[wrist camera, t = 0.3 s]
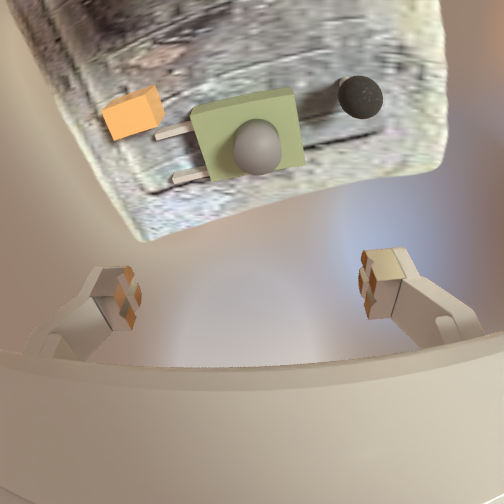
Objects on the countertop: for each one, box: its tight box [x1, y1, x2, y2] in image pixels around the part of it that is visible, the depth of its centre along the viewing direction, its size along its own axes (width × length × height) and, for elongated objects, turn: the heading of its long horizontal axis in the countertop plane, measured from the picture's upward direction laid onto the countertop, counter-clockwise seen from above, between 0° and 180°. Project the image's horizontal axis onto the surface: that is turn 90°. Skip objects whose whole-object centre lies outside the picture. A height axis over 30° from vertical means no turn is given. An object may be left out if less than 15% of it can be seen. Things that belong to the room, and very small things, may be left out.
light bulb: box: [338, 76, 383, 119], centre depth 36 cm, size 6×6×10 cm
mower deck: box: [155, 87, 305, 184], centre depth 43 cm, size 11×20×9 cm, turn 102°
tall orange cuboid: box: [101, 85, 165, 141], centre depth 41 cm, size 5×7×5 cm
